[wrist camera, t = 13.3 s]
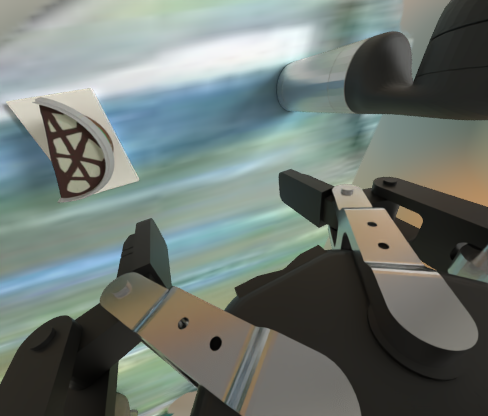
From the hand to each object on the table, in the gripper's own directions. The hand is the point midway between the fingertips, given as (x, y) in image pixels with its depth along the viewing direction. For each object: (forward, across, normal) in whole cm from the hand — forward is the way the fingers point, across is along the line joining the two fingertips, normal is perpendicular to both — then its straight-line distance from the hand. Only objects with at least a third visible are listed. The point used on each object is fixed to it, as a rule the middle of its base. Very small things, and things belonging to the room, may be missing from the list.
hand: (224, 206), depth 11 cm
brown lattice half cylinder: (+29, +12, -2) cm, 31 cm away
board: (+30, +14, -2) cm, 33 cm away
